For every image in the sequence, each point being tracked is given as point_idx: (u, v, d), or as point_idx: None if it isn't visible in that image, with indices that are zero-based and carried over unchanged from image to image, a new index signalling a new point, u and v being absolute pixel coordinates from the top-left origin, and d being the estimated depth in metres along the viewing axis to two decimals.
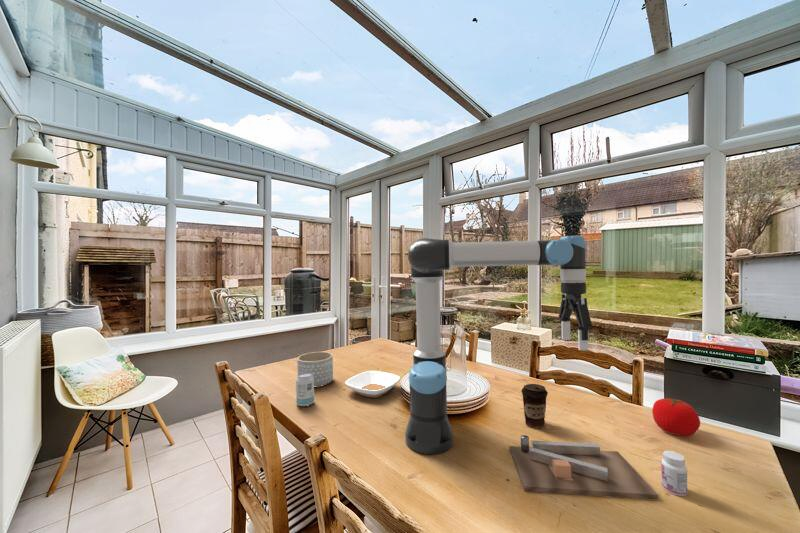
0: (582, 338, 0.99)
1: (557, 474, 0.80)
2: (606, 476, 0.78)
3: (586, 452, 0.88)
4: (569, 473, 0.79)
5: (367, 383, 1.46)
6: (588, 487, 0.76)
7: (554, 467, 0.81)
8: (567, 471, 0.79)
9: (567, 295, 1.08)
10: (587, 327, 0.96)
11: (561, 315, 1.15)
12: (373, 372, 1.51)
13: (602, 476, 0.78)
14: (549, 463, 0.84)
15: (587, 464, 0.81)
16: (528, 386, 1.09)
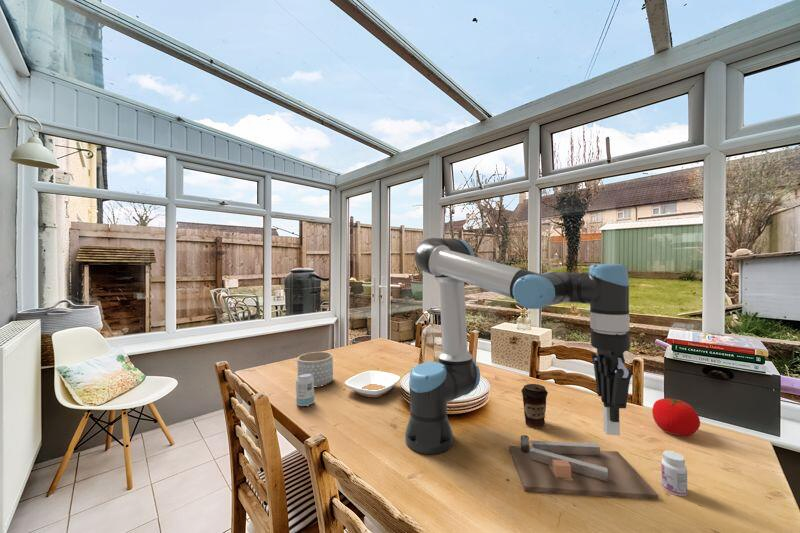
0: (610, 419, 0.71)
1: (557, 474, 0.80)
2: (606, 476, 0.78)
3: (586, 452, 0.88)
4: (569, 473, 0.79)
5: (367, 383, 1.46)
6: (588, 487, 0.76)
7: (554, 467, 0.81)
8: (567, 471, 0.79)
9: None
10: (619, 406, 0.69)
11: None
12: (373, 372, 1.51)
13: (602, 476, 0.78)
14: (549, 463, 0.84)
15: (587, 464, 0.81)
16: (528, 386, 1.09)
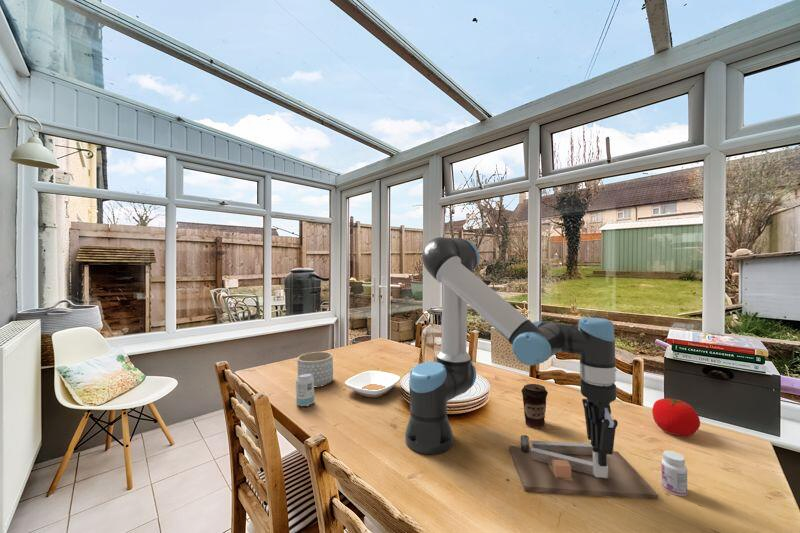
0: (599, 463, 0.77)
1: (557, 474, 0.80)
2: (607, 474, 0.78)
3: (586, 452, 0.88)
4: (569, 473, 0.79)
5: (367, 383, 1.46)
6: (588, 487, 0.76)
7: (554, 467, 0.81)
8: (567, 471, 0.79)
9: None
10: (606, 452, 0.75)
11: (590, 434, 0.81)
12: (373, 372, 1.51)
13: None
14: (550, 462, 0.85)
15: (588, 462, 0.81)
16: (528, 386, 1.09)
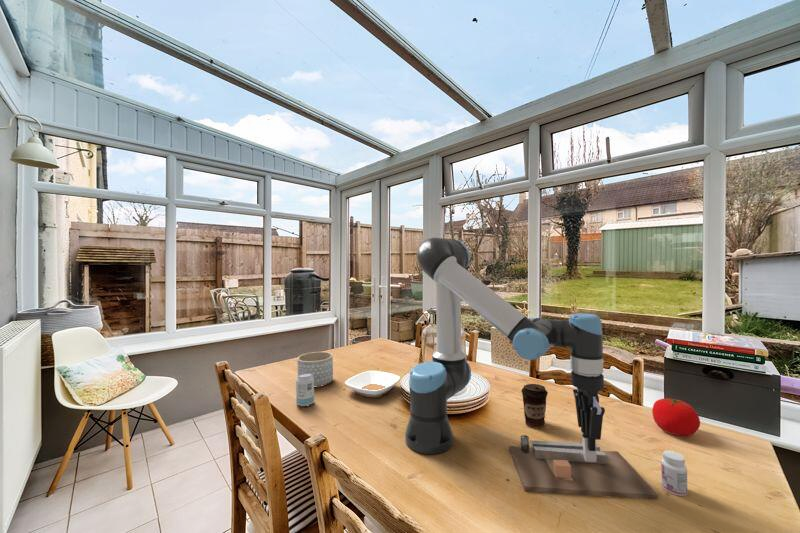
0: (588, 448, 0.83)
1: (557, 474, 0.80)
2: (605, 459, 0.84)
3: None
4: (569, 473, 0.79)
5: (367, 383, 1.46)
6: (588, 487, 0.76)
7: (554, 467, 0.81)
8: (567, 471, 0.79)
9: None
10: (594, 438, 0.81)
11: None
12: (373, 372, 1.51)
13: (602, 460, 0.84)
14: (554, 458, 0.86)
15: None
16: (528, 386, 1.09)
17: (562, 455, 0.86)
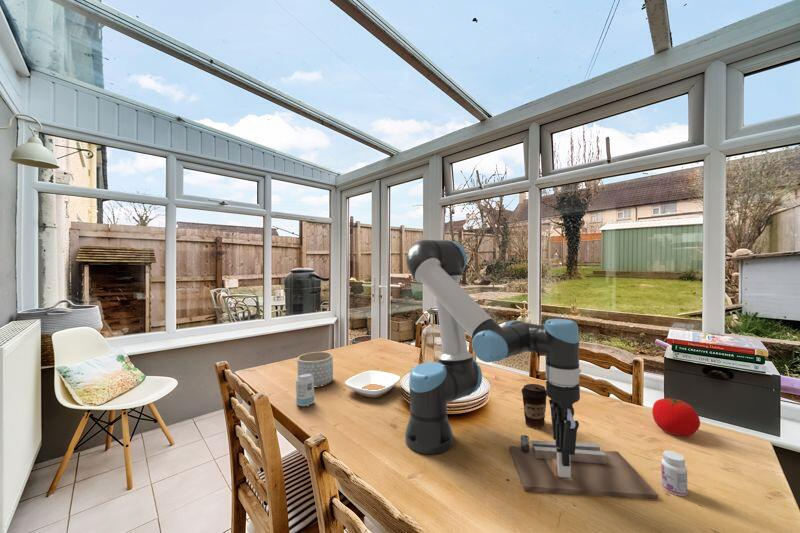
0: (562, 463, 0.78)
1: None
2: (605, 459, 0.84)
3: None
4: None
5: (367, 383, 1.46)
6: (588, 487, 0.76)
7: (554, 466, 0.81)
8: None
9: None
10: (568, 453, 0.75)
11: (556, 434, 0.82)
12: (373, 372, 1.51)
13: (602, 460, 0.84)
14: (554, 458, 0.86)
15: (587, 451, 0.86)
16: (528, 386, 1.09)
17: None
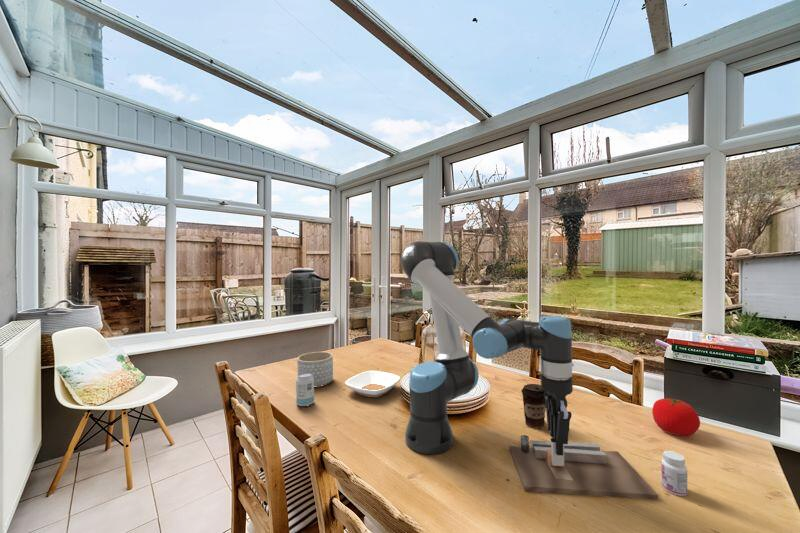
0: (556, 452, 0.82)
1: (551, 463, 0.84)
2: (605, 459, 0.84)
3: None
4: None
5: (367, 383, 1.46)
6: (588, 487, 0.76)
7: (548, 456, 0.85)
8: None
9: None
10: (561, 442, 0.80)
11: None
12: (373, 372, 1.51)
13: (602, 460, 0.84)
14: None
15: (587, 451, 0.86)
16: (528, 386, 1.09)
17: None
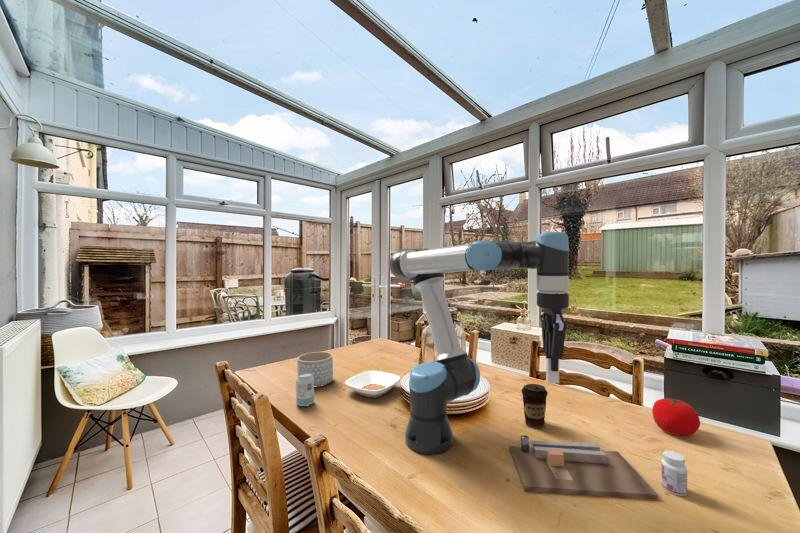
0: (551, 369, 0.81)
1: (551, 463, 0.84)
2: (605, 459, 0.84)
3: None
4: (562, 462, 0.84)
5: (367, 383, 1.46)
6: (588, 487, 0.76)
7: (548, 456, 0.85)
8: (560, 460, 0.84)
9: None
10: (556, 356, 0.78)
11: None
12: (373, 372, 1.51)
13: (602, 460, 0.84)
14: None
15: (587, 451, 0.86)
16: (528, 386, 1.09)
17: None
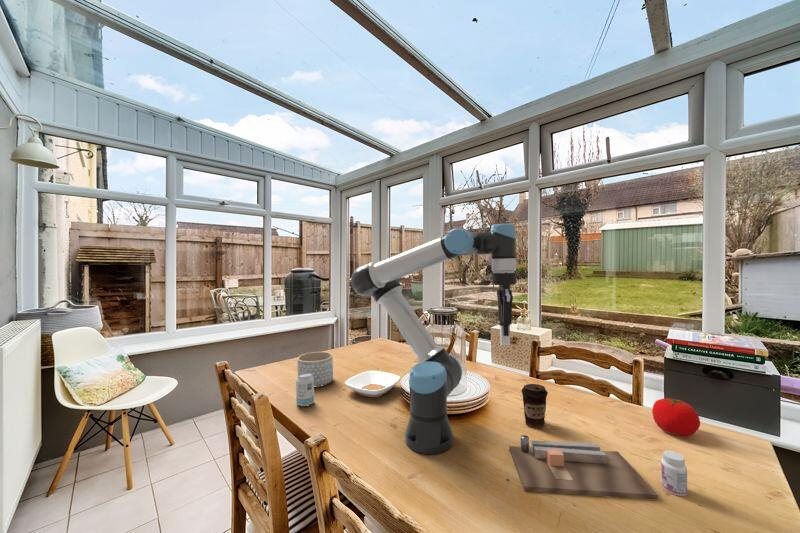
0: (503, 334, 1.00)
1: (551, 463, 0.84)
2: (605, 459, 0.84)
3: None
4: (562, 462, 0.84)
5: (367, 383, 1.46)
6: (588, 487, 0.76)
7: (548, 456, 0.85)
8: (560, 460, 0.84)
9: (499, 285, 1.04)
10: (506, 323, 0.98)
11: None
12: (373, 372, 1.51)
13: (602, 460, 0.84)
14: None
15: (587, 451, 0.86)
16: (528, 386, 1.09)
17: None
